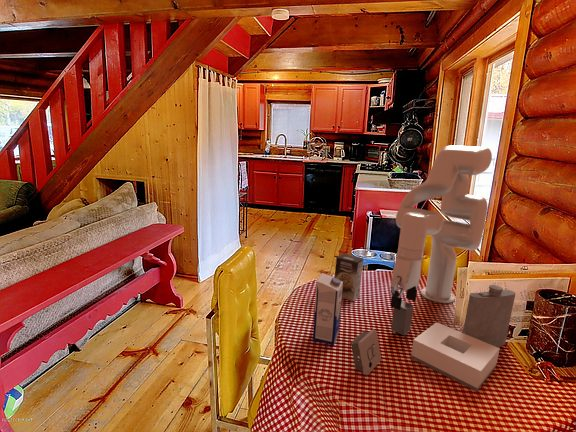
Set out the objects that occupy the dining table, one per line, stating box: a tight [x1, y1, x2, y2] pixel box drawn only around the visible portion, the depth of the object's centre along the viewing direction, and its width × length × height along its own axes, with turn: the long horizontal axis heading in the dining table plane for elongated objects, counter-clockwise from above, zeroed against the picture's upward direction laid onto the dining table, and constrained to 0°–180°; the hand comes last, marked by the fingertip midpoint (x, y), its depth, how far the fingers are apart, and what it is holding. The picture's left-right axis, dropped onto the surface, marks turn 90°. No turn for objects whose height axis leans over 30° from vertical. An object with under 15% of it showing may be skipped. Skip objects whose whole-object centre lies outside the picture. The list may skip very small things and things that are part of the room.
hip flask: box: [462, 284, 516, 348], centre depth 108 cm, size 16×4×20 cm, turn 106°
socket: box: [410, 322, 501, 393], centre depth 101 cm, size 15×18×6 cm
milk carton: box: [312, 272, 343, 346], centre depth 109 cm, size 7×7×20 cm
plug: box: [390, 300, 414, 336], centre depth 115 cm, size 4×4×10 cm
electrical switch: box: [350, 329, 382, 376], centre depth 98 cm, size 9×5×9 cm, turn 141°
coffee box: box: [334, 253, 364, 302], centre depth 139 cm, size 9×6×16 cm
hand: (403, 303), depth 113 cm, fingers open, 9 cm apart
